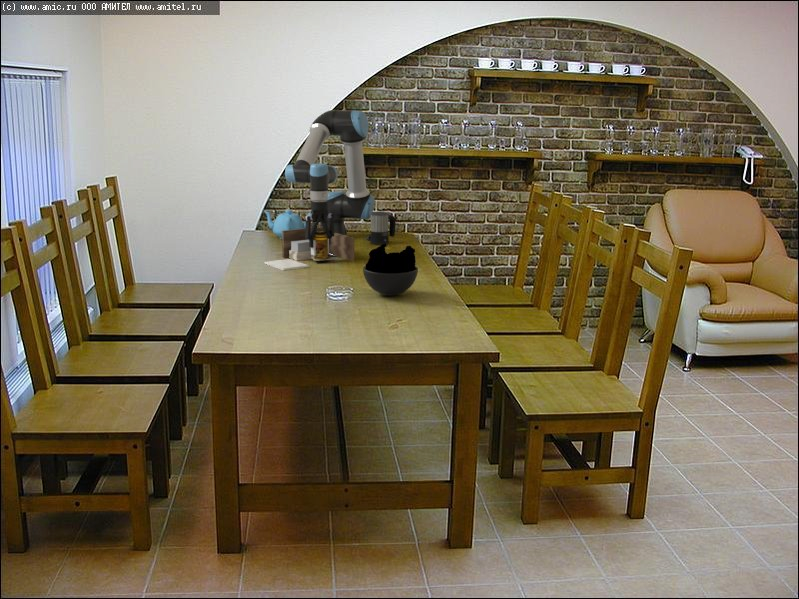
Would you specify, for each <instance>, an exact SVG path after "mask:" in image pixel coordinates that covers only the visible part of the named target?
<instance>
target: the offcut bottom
mask: <svg viewBox="0 0 799 599" xmlns="http://www.w3.org/2000/svg"><path fill="white" fill-rule="evenodd" d="M311 257H314V255H311V251H305V252H295V251H291V250H289V258H291V260H293V259H294V261H297V262H300V261H306V260H313V259H312V258H311ZM289 258H288V259H289Z"/></svg>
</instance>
